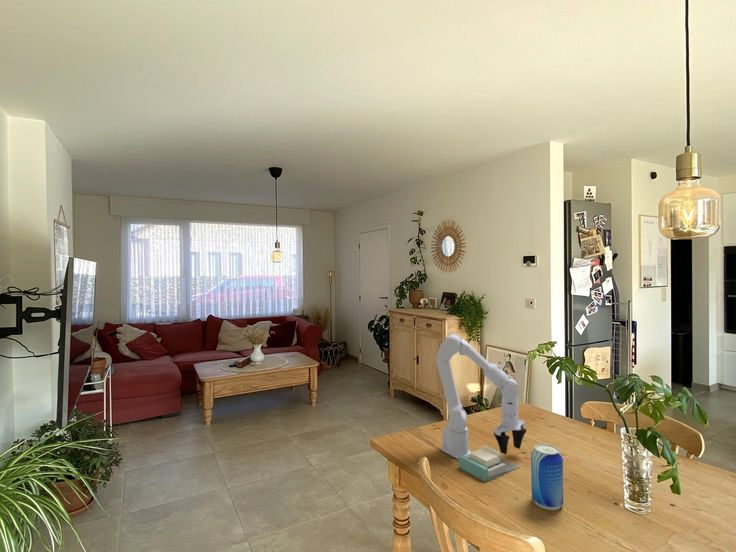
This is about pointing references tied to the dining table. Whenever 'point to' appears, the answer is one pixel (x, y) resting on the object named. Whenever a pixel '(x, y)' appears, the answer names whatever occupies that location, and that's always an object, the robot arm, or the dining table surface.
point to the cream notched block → (486, 456)
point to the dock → (485, 472)
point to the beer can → (547, 477)
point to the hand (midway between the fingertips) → (510, 450)
